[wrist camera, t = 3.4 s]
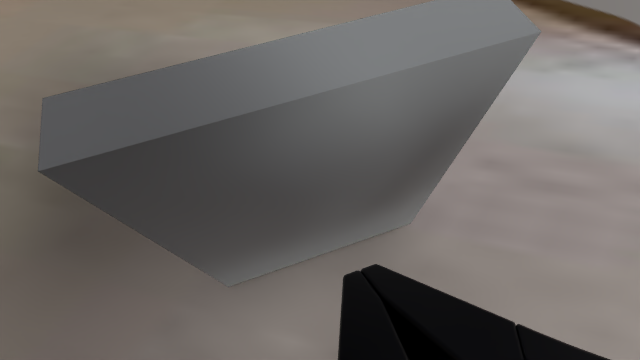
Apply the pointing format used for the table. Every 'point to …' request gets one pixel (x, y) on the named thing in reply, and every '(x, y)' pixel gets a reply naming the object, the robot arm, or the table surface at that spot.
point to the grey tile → (287, 134)
